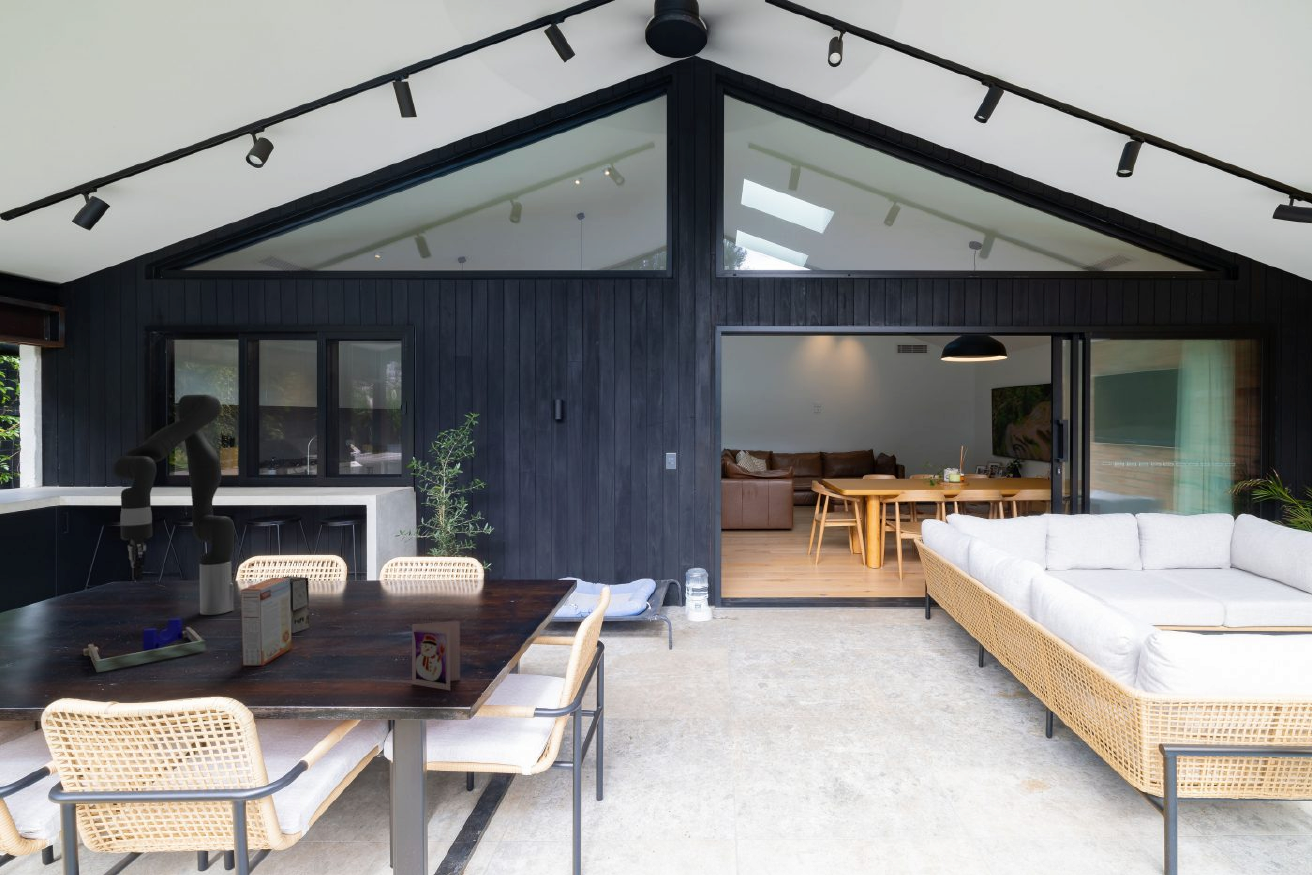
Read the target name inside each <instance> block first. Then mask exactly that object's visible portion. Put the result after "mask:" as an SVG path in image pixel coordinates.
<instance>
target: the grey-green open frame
mask: <svg viewBox="0 0 1312 875" xmlns="http://www.w3.org/2000/svg"><path fill="white" fill-rule="evenodd" d="M182 638H183V639H185V638H188V640H189V641H190V642H186V643H181V644H175V645H169V646H165V647H164V646H163V647H160V648H158V649H153V650H142V651H139V652H133V653H127V654H122V655H116V656H112V657H105V658H102V659H101V657H100V655H99V648H98V646H94V643H90V644H88V646H87V648H83V650H82V651H83V655H84V657H85V656H89V658H90V657H91V658H90V659H91V661H92V664H93V666H94V669H95V671H96V673H101V672H106V671H111V670H116V669H122V668H127V667H132V666H137V665H141V664H147V663H151V662H157V661H162V660H167V659H172V658H179V657H183V656H187V655H191V654H197V653H202V652H206V640H205V639H203V638H201V636H200V635H198V633H197V632H196V631H195V630H194V629H192V628H191V627H190V626H186V627H185V630H182Z"/></svg>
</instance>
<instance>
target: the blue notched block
mask: <svg viewBox="0 0 1312 875" xmlns="http://www.w3.org/2000/svg"><path fill="white" fill-rule="evenodd" d="M182 632H183V618H182V617H181V618H179V617H177V618H175V617H174V618H170V619H168V625H167V628H164V629H162V630H161V631H160V632H159V631H158V628H145V629H143V630H142V649H143V650H142V651H148V650H153V649H159V648H163V647H164V646H166V645H169V644H171V643H173V642H175V641H177V640H179V639H182V638H183V637H182Z"/></svg>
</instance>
